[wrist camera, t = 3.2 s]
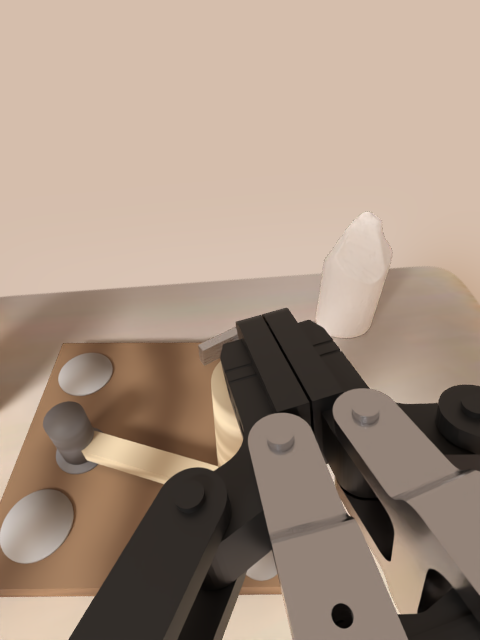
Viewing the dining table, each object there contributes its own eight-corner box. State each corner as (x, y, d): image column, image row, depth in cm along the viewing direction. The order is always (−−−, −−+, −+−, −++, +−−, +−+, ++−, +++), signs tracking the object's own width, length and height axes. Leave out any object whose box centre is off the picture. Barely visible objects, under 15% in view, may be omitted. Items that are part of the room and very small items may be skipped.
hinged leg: (50, 465, 29) (-40, 341, 19) (78, 422, 31) (9, 294, 22) (266, 533, 25) (282, 425, 16) (279, 480, 28) (298, 359, 18)
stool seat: (-19, 596, 25) (-36, 588, 24) (69, 357, 38) (62, 341, 37) (289, 594, 25) (293, 585, 24) (270, 356, 39) (272, 340, 37)
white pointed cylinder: (355, 241, 31) (319, 206, 35) (330, 345, 40) (304, 308, 43) (420, 226, 32) (379, 193, 36) (383, 329, 41) (353, 294, 45)
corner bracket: (225, 393, 33) (224, 378, 32) (199, 359, 36) (197, 344, 34) (268, 369, 35) (269, 354, 33) (241, 339, 37) (241, 323, 36)
